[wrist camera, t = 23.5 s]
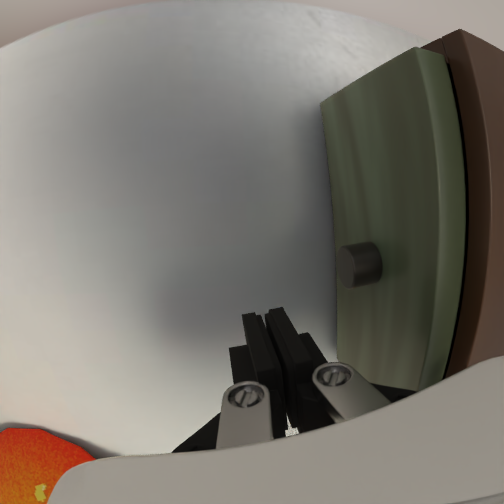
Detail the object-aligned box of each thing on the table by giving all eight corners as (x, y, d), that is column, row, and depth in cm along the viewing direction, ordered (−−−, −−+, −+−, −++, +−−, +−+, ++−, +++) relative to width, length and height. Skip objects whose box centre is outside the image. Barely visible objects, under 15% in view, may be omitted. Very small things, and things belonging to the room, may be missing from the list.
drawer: (316, 363, 16) (373, 458, 8) (295, 103, 12) (377, 36, 5) (498, 297, 17) (561, 330, 10) (501, 125, 14) (577, 124, 7)
